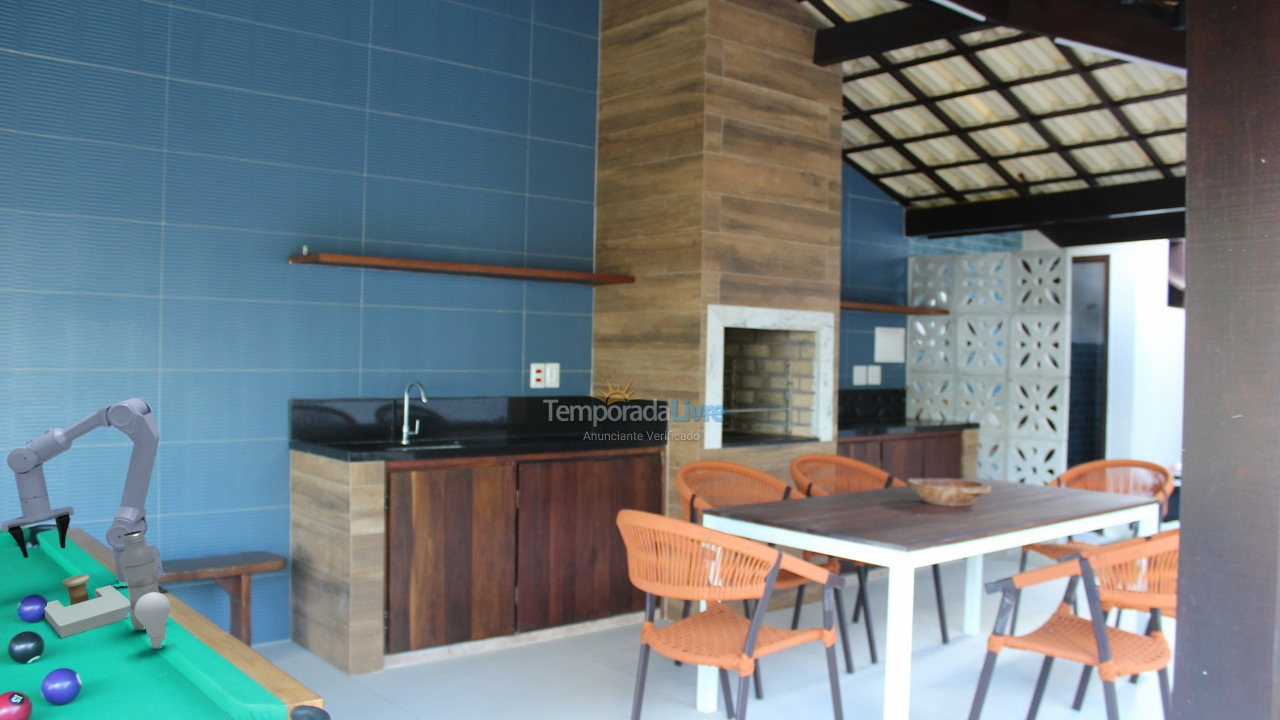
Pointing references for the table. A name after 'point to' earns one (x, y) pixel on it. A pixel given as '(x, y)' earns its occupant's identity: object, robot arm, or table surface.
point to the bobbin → (77, 588)
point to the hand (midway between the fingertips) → (44, 552)
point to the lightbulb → (153, 616)
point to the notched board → (88, 612)
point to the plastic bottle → (138, 570)
